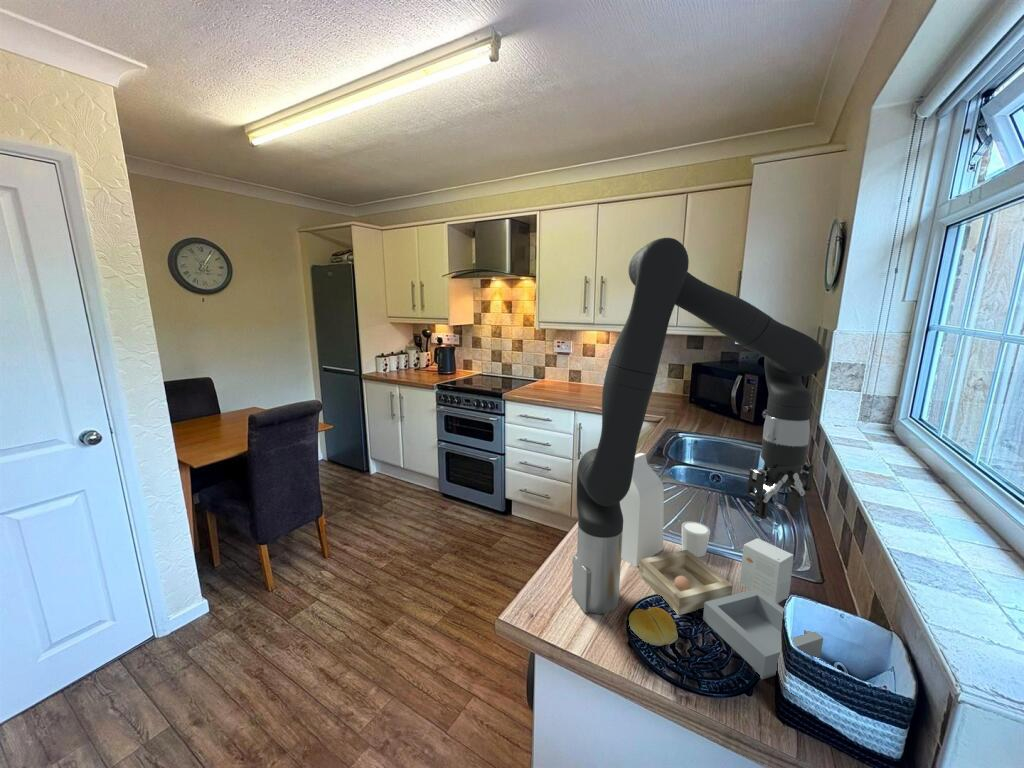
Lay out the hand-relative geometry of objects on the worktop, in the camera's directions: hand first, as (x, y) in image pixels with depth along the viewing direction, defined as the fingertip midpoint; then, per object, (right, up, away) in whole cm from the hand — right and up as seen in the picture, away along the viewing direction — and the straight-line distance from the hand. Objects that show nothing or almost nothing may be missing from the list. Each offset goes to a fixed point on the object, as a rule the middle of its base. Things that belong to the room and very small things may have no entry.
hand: (777, 514), depth 82 cm
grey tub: (-7, -22, -6) cm, 24 cm away
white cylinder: (-7, -18, +22) cm, 29 cm away
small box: (+2, -20, +8) cm, 22 cm away
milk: (-23, -17, +23) cm, 37 cm away
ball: (-17, -19, +7) cm, 26 cm away
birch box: (-16, -20, +8) cm, 27 cm away
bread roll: (-27, -22, -4) cm, 35 cm away
